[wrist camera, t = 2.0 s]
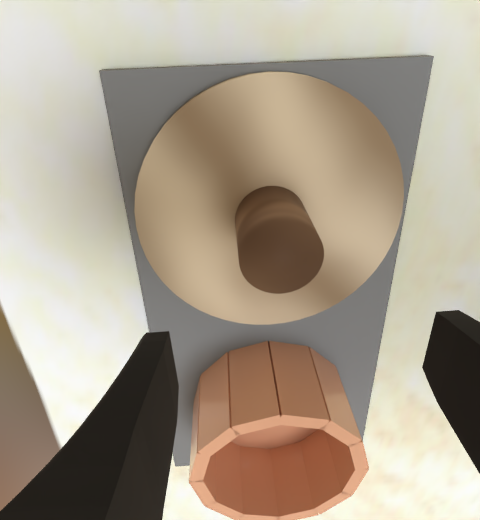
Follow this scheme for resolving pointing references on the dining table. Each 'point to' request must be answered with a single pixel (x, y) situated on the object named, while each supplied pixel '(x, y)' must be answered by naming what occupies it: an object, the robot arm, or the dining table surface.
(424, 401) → the dining table surface
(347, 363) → the mat
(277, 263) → the lid
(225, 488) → the bowl
